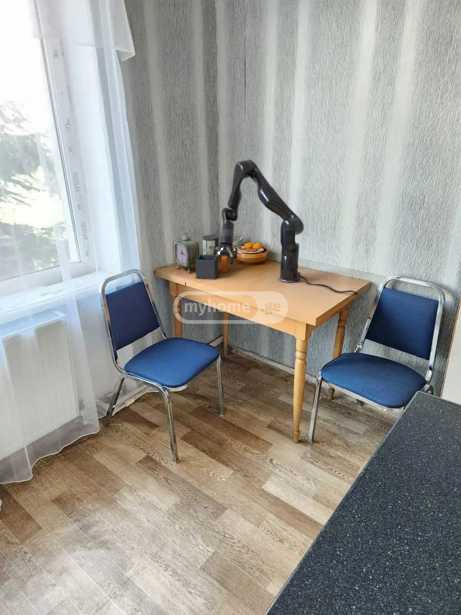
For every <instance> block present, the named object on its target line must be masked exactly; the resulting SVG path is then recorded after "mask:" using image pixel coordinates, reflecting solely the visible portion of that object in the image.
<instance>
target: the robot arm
mask: <svg viewBox="0 0 461 615" xmlns="http://www.w3.org/2000/svg"><path fill="white" fill-rule="evenodd" d="M259 168H260V167H259V166H258V165H257V163H256V162H255V161H254V160H252V159H249V158H248V159H244V160H240V161H237V162H236V163H235V165H234V167H233V174H232V182H231V189H230V194H229V196H228V199H227V204H226V205H227V207H223V208H222V210H221V212H220V216H221V217H220V218H221V223H222V227H221V232H220V238H219V247H216V246H214V250H213V255H218V259H219V260H220V257H222V256H228V255H229V257H230V259H229V260H230V261H229V264H230V265H232V264H234V259H237V258H238V246H235V247H233V245H234V238H235V237H234V236H235V224H234V222H237V221H238V219H239V217H240V216H239V212H240V210H239V209H240V205H241V203H242V198H243V192H242V187H241V186H242V183H243V181H244V179H245V180H246V179H248V178H250V179H251V180H252V182H253V183H254V184H255V187H256V193H257V197H258V199H259V201H260V202H261V203H262V204H263V206H264V207H265V208H266V209H267V210H269V211H270V212H272V213H273V214H275V215H277V216H278V217H280V218H281V219H282V220H283V221H281V224H280V229H279V230H280V231H279V234H280V235H279V242H280V246H281V250H280V251H281V252H280V270H279V280H280V281H281V282H284V283H294V282H295V283H297V282H298V281H301V279H303V280H304V281H305V283H306V284H307V285H311V286H319V287H320V286H321V287H326V288H328V289H329V290H331V291H333V292H335V293H340V294H342V293H343V294H344V293H354V294H355V295H359V293H358V292H357V291H354V290H337V289H334V288H332V287H331V286H330V285H326V284H321V283H310V282H308V279H307V278H306V277H305V276H302V274H301V271H299V257H300V243H299V242H297V241H296V236H299V235H301V234H302V233H303V232H304V229H305V225H304V222H303V220H302V219H301V218H300V217H299V216H298V215H297V214H296V213H295V212H294V211H293V210H292V209H291V208H290V207H289V206H288V204H287V203H286V202H285V200H283V199H282V197H281V195H280V194H279V193H278V191H276V190H275V188H274V187H273V186H272V185H271V183H270V182H269V181H268V180H267V178H266V177H265V176H264V174H263V173H262V171H261V170H260V169H259ZM218 249H219V252H218V253H217V254H216V251H217V250H218ZM232 252H234V253H232Z"/></svg>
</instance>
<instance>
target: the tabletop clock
mask: <svg viewBox="0 0 461 615" xmlns="http://www.w3.org/2000/svg"><path fill="white" fill-rule="evenodd" d="M183 229H185V230H187V232H186V231H184V232H183ZM180 231H181V234H182V236H180V239H175V240H173V241H172V256H173V257H172V258H173V261H174V263H175V264H177V266H176V269H180V268H181V267H184V268H187V267H188V270H187V273H188V274H190V273H191V269H192V266H194V265H195V266H196V259H197V257H198V256H199V255H200V244H199V242H198V241H196V240H193V239H191V237H190V236H189V234H190V231H189V229H188V227H185V226H182V227H181V228H180Z"/></svg>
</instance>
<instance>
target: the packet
mask: <svg viewBox="0 0 461 615" xmlns="http://www.w3.org/2000/svg"><path fill="white" fill-rule="evenodd" d="M228 258H229V257H228V255H221V258H220V272H221V273H227V272H228V270H229V269H228V268H229V267H228V266H229V263H228V260H229V259H228Z"/></svg>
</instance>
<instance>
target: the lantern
mask: <svg viewBox="0 0 461 615" xmlns="http://www.w3.org/2000/svg"><path fill="white" fill-rule="evenodd" d="M201 238H202V255H213V250H214V246H216V247H219V246H220V236H218V235H215V234H206V235H203V236H202V237H201ZM218 252H219V249H218V250H217V251H216V254H217V253H218ZM219 260H220V258H219V259H218V261H219Z"/></svg>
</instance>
